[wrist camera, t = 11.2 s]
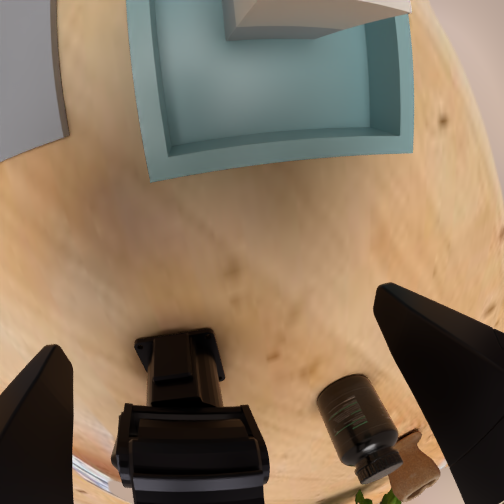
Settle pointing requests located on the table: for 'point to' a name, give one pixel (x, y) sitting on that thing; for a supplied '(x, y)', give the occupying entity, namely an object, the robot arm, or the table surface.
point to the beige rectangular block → (303, 17)
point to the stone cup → (412, 469)
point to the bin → (264, 91)
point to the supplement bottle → (360, 428)
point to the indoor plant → (389, 500)
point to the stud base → (29, 77)
